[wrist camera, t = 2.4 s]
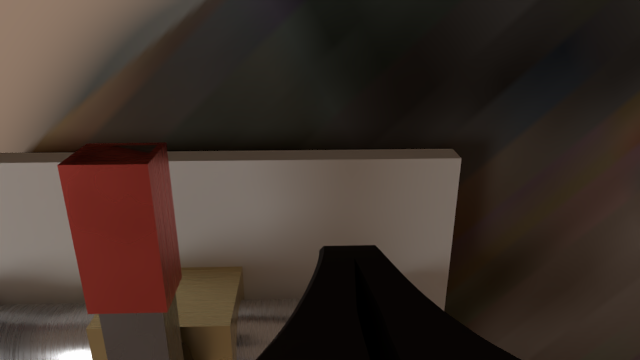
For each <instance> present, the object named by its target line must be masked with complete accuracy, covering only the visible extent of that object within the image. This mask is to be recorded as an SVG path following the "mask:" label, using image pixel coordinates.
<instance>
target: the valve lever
mask: <svg viewBox="0 0 640 360" xmlns="http://www.w3.org/2000/svg"><path fill="white" fill-rule="evenodd" d="M57 167H58V172H59V177H60V181H61V186H62V191H63V196H64V201H65V206H66V211H67V216H68V220H69V225H70V230H71V235H72V240H73V245H74V250H75V255H76V259H77V264H78V269H79V274H80V279H81V284H82V289H83V294H84V298H85V303H86V308H87V313H88V314H99V318H100V324H101V329H102V334H103V339H104V344H105V349H106V354H107V359H108V360H184V357H183V349H182V341H181V333H180V325H179V317H178V309H177V301H176V291H177V288H178V286H179V283H180V281H181V278H182V273H181V264H180V256H179V247H178V239H177V230H176V222H175V213H174V205H173V196H172V187H171V179H170V170H169V162H168V153H167V145H166V143H93V144H86V145H84V146H83V147H81V148H80V149H79V150H77V151H76V152H75V153H73V154H72V155H70V156H69V157H68V158H66V159H65V160H64V161H62V162H61V163H60V164H58V165H57Z"/></svg>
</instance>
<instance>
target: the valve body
mask: <svg viewBox="0 0 640 360" xmlns="http://www.w3.org/2000/svg"><path fill="white" fill-rule="evenodd" d="M181 273H182V278H181V281H180V283H179V286H178V288H177V291H176V301H177V309H178V317H179V325H180V333H181V341H182V349H183V357H184V360H256V358H257V357H258V356H259V355H260V354H261V353H262V352H263V351H264V350H265V348H266V347H267V346H268V345H269V344H270V343H271V342H272V340H273V339H274V338H275V337H276V335H277V334H278V333H279V332H280V330H281V329H282V328H283V326H284V325H285V323H286V322H287V321H288V319H289V318H290V316H291V315H292V313H293V311H294V310H295V308H296V306H297V305H298V303H299V301H300V300H301V299H257V300H244V284H243V269H242V267H187V268H181ZM0 360H108V359H107V354H106V349H105V344H104V339H103V334H102V329H101V324H100V318H99V314H88V313H87V308H86V303H55V304H4V305H0Z"/></svg>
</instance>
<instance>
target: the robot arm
mask: <svg viewBox="0 0 640 360" xmlns="http://www.w3.org/2000/svg"><path fill="white" fill-rule="evenodd" d="M256 360H521V359H519V358H517V357H515V356H513V355H511V354H510V353H508V352H506V351H504V350H503V349H501V348H499V347H497V346H495V345H494V344H492V343H490V342H489V341H487V340H485V339H484V338H482V337H480V336H479V335H477V334H476V333H474V332H473V331H471V330H470V329H468V328H467V327H465V326H464V325H463V324H461V323H460V322H458V321H457V320H455V319H454V318H453V317H451V316H450V315H449V314H447V313H446V312H445V311H443V310H442V309H441V308H440V307H438V306H437V305H436V304H435V303H434V302H432V301H431V300H430V299H429V298H428V297H426V296H425V295H424V294H423V293H422V292H421V291H420V290H419V289H417V288H416V287H415V286H414V285H413V284H412V283H411V282H410V281H409V280H408V279H407V278H406V277H405V276H404V275H403V274H402V273H401V272H400V271H399V270H398V269H397V268H396V267H395V266H394V264H393V263H392V262H391V261H390V260H389V259H388V258H387V257H386V256H385V255H384V254H383V253H382V251H381V250H380V249H379V248H378V247H377V246H376V245H347V246H323V247H322V248H321V249H320V250H319V258H318V262H317V265H316V268H315V271H314V273H313V276H312V278H311V280H310V282H309V284H308V286H307V289H306V291H305V293H304V294H303V296H302V298H301V300H300V301H299V303H298V305H297V306H296V308H295V310H294V311H293V313H292V315H291V316H290V318H289V319H288V321H287V322H286V323H285V325H284V326H283V328H282V329H281V330H280V332H279V333H278V334H277V335H276V337H275V338H274V339H273V340H272V342H271V343H270V344H269V345H268V346H267V347H266V348H265V350H264V351H263V352H262V353H261V354H260V355H259V356H258V357H257V358H256Z"/></svg>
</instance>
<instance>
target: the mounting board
mask: <svg viewBox="0 0 640 360" xmlns="http://www.w3.org/2000/svg"><path fill="white" fill-rule="evenodd" d="M73 153H75V152H57V153H0V305H4V304H55V303H85V298H84V294H83V289H82V284H81V279H80V274H79V269H78V264H77V259H76V255H75V250H74V245H73V240H72V235H71V230H70V225H69V220H68V216H67V211H66V206H65V201H64V196H63V191H62V186H61V181H60V177H59V172H58V167H57V165H58V164H60V163H61V162H62V161H64V160H65V159H66V158H68V157H69V156H70V155H72V154H73ZM167 153H168V162H169V170H170V179H171V187H172V196H173V205H174V213H175V222H176V230H177V239H178V247H179V256H180V264H181V268H187V267H242V269H243V284H244V300H257V299H301V298H302V296H303V294H304V293H305V291H306V289H307V286H308V284H309V282H310V280H311V278H312V276H313V273H314V271H315V268H316V265H317V262H318V258H319V250H320V249H321V248H322V247H323V246H347V245H376V246H377V247H378V248H379V249H380V250H381V251H382V253H383V254H384V255H385V256H386V257H387V258H388V259H389V260H390V261H391V262H392V263H393V264H394V266H395V267H396V268H397V269H398V270H399V271H400V272H401V273H402V274H403V275H404V276H405V277H406V278H407V279H408V280H409V281H410V282H411V283H412V284H413V285H414V286H415V287H416V288H417V289H419V290H420V291H421V292H422V293H423V294H424V295H425V296H426V297H428V298H429V299H430V300H431V301H432V302H434V303H435V304H436V305H437V306H438V307H440V308H441V309H442V310H443V311H444V309H445V300H446V291H447V282H448V274H449V265H450V256H451V247H452V238H453V229H454V220H455V211H456V203H457V194H458V185H459V176H460V167H461V157H460V156H459V155H458V154H457V153H456V152H455V151H454V150H453V149H375V150H269V151H167Z"/></svg>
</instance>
